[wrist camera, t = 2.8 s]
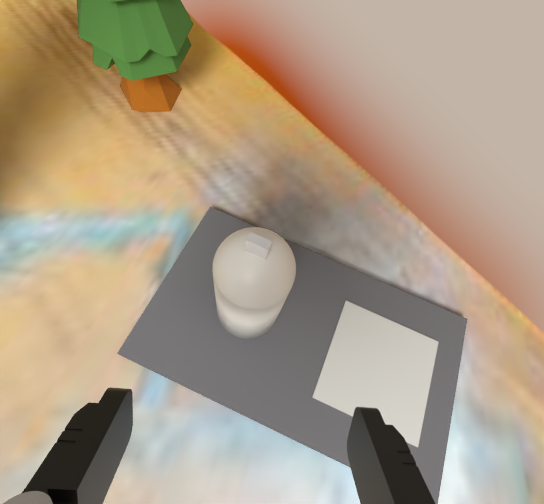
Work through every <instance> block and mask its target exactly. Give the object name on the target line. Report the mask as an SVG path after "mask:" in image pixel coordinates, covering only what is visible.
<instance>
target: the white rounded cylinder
mask: <svg viewBox="0 0 544 504" xmlns="http://www.w3.org/2000/svg"><path fill="white" fill-rule="evenodd" d="M212 272H213V281H214V289H215V298H216V306H217V314H218V318H219V321H220V323H221V325H222V326H223V327H224V329H225V330H226V331H227V332H229V333H230V334H232V335H234V336H236V337H238V338H243V339H252V338H257V337H259V336H262V335H263V334H265V333H266V332H268V331H269V330H270V329H271V328H272V326H273V325H274V323H275V321H276V319H277V317H278V315H279V313H280V311H281V309H282V307H283V305H284V302H285V300H286V298H287V296H288V294H289V292H290V290H291V288H292V286H293V283H294V280H295V276H296V262H295V257H294V255H293V252H292V250H291V248H290V246H289V245H288V244H287V242H286V241H285V240H284V239H283V238H282V237H281V236H279V235H278V234H276V233H275V232H273V231H271V230H268V229H265V228H259V227H249V228H244V229H241V230H238V231H236V232H234V233H232V234H231V235H229V236H228V237H227V238H226V239H225V240H224V241H223V242H222V243H221V244H220V246H219V247H218V249H217V251H216V253H215V256H214V259H213V268H212Z"/></svg>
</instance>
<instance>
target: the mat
mask: <svg viewBox="0 0 544 504" xmlns="http://www.w3.org/2000/svg"><path fill="white" fill-rule="evenodd" d="M249 227H255V226H253V225H251V224H248V223H246V222H244V221H242V220H239V219H237V218H235V217H232V216H230V215H228V214H226V213H223V212H221V211H219V210H216V209H214V208H212V207H210V208H209V210H208V211H207V213H206V215H205V216H204V218H203V219H202V221H201V222H200V224H199V226H198V227H197V229H196V230H195V232H194V233H193V235H192V237H191V238H190V240H189V241H188V243H187V244H186V246H185V248H184V249H183V251H182V252H181V254H180V255H179V257H178V259H177V260H176V262H175V263H174V265H173V267H172V268H171V270H170V271H169V273H168V274H167V276H166V278H165V279H164V281H163V282H162V284H161V285H160V287H159V289H158V290H157V292H156V293H155V295H154V296H153V298H152V300H151V301H150V303H149V304H148V306H147V307H146V309H145V311H144V312H143V314H142V315H141V317H140V318H139V320H138V322H137V323H136V325H135V326H134V328H133V330H132V331H131V333H130V334H129V336H128V337H127V339H126V341H125V342H124V344H123V345H122V347H121V348H120V350H119V352H118V353H117V354H119V355H121V356H123V357H125V358H127V359H129V360H131V361H134V362H136V363H138V364H140V365H142V366H144V367H146V368H148V369H150V370H152V371H154V372H156V373H158V374H160V375H162V376H164V377H166V378H168V379H170V380H172V381H174V382H177V383H179V384H181V385H183V386H185V387H187V388H189V389H191V390H193V391H195V392H197V393H199V394H201V395H203V396H205V397H207V398H209V399H211V400H213V401H215V402H218V403H220V404H222V405H224V406H226V407H228V408H230V409H232V410H234V411H236V412H238V413H240V414H242V415H244V416H246V417H248V418H250V419H252V420H254V421H256V422H258V423H261V424H263V425H265V426H267V427H269V428H271V429H273V430H275V431H277V432H279V433H281V434H283V435H285V436H287V437H289V438H291V439H293V440H295V441H297V442H299V443H302V444H304V445H306V446H308V447H310V448H312V449H314V450H316V451H318V452H320V453H322V454H324V455H326V456H328V457H330V458H332V459H334V460H336V461H338V462H340V463H342V464H345V465H347V466H349V467H350V463H349V459H348V454H347V438H348V434H349V430H350V426H351V422H352V418H353V414H354V410H355V408H356V407H368V408H377V409H378V410H379V411H380V413H381V416H382V418H383V420H384V422H385V424H386V425H393V426H394V427H395V428H396V429H397V430H398V431H399V433H400V434H401V435H402V436H403V437H404V439H405V441H406V443H407V445H408V447H409V449H410V451H411V454H412V455H413V458H414V460H415V462H416V466H418V468H419V470H420V472H421V474H422V477H423V479H424V481H425V483H426V485H427V487H428V489H429V491H430V493H431V495H432V498H433V500H434V502H435V504H438V497H439V491H440V485H441V479H442V472H443V466H444V460H445V454H446V448H447V441H448V435H449V429H450V423H451V416H452V410H453V404H454V398H455V391H456V385H457V379H458V373H459V367H460V360H461V354H462V348H463V342H464V335H465V329H466V323H467V319H466V318H464V317H461V316H459V315H457V314H454V313H452V312H450V311H448V310H445V309H443V308H441V307H438V306H436V305H434V304H432V303H429V302H427V301H425V300H422V299H420V298H418V297H415V296H413V295H411V294H409V293H406V292H404V291H402V290H399V289H397V288H395V287H393V286H390V285H388V284H386V283H383V282H381V281H379V280H377V279H374V278H372V277H370V276H367V275H365V274H363V273H361V272H358V271H356V270H354V269H351V268H349V267H347V266H345V265H342V264H340V263H338V262H335V261H333V260H331V259H329V258H326V257H324V256H322V255H319V254H317V253H315V252H313V251H310V250H308V249H306V248H303V247H301V246H299V245H297V244H294V243H292V242H290V241H287V240H285V239H284V240H285V241H286V242H287V244H288V245H289V246H290V248H291V250H292V252H293V255H294V257H295V262H296V276H295V280H294V283H293V286H292V288H291V290H290V292H289V294H288V296H287V298H286V300H285V302H284V305H283V307H282V309H281V311H280V313H279V315H278V317H277V319H276V321H275V323H274V325H273V326H272V328H271V329H270V330H269V331H268V332H266V333H265V334H263V335H262V336H259V337H257V338H252V339H243V338H238V337H236V336H234V335H232V334H230V333H229V332H227V331H226V330H225V329H224V327H223V326H222V325H221V323H220V321H219V318H218V314H217V306H216V298H215V289H214V281H213V272H212V268H213V259H214V256H215V253H216V251H217V249H218V247H219V246H220V244H221V243H222V242H223V241H224V240H225V239H226V238H227V237H228V236H229V235H231V234H232V233H234V232H236V231H238V230H241V229H244V228H249Z"/></svg>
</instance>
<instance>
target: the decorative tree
mask: <svg viewBox="0 0 544 504" xmlns="http://www.w3.org/2000/svg"><path fill="white" fill-rule="evenodd" d="M77 9H78V29H79V38H81V39H83V40H85V41H87V42H89V43H90V44H92V45H93V64H95V65H97V66H100V67H102V68H104V69H106V70H107V69H109V68H110V67H111V66H112V65H113V64H116V66H117V68H118V71H119V73H120V75H121V76H122V80H121V84H120V87H121V89H122V91H123V92H124V94H125V96H126V98H127V100H128V102H129V104H130V106H131V108H132V109H133V110H137V111H142V112H159V111H171V109H172V107H173V105H174V103H175V101H176V99H177V97H178V95H179V93H180V91H181V88H180V87H179V86H178V85H176V84H175V83H174V82H173V81H172V80H171V79H170V78H169V77H168V76H167V75H165V74H168V73H172V72H177V70H178V69H179V67H180V65H181V63H182V61H183V59H184V57H185V56H186V54H187V52H188V50H189V48H190V46H191V44H190V42H189V39H188V37H187V35H188V33H189V31H190V29H191V27H192V25H193V22H192V21H191V19H190V17H189V15H188V13H187V11H186V10H185V8H184V6H183V4H182V2H181V0H77Z"/></svg>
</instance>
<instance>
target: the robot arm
mask: <svg viewBox="0 0 544 504" xmlns="http://www.w3.org/2000/svg"><path fill="white" fill-rule="evenodd" d="M132 425H133V409H132V390H131V389H121V388H108V389H107V390H106V392H105V393H104V395H103V397H102V398H101V400H100V402H99V403H88V404H86V405H85V406H84V407H83V408H81V409H80V410H79V411H78V412H77V413H75V414H74V416H73V417H72V419H71V420H70V422H69V423H68V425H67V426H66V428H65V431H63V432H62V434H61V435H60V437H59V438H58V440H57V443H55V444H54V446H53V447H52V449H51V450H50V452H49V453H48V455H47V456H46V458H45V459H44V461H43V462H42V464H41V465H40V467H39V469H38V470H37V472H36V473H35V475H34V476H33V478H32V479H31V481H30V482H29V484H28V485H27V487H26V488H25V489H24V491H23V492H22V493H21V494H19V495H17V496H15V497H13V498H11V499H9V500H8V501H6V502H5V503H4V504H103V501H104V499H105V496H106V494H107V492H108V489H109V487H110V485H111V482H112V480H113V478H114V475H115V473H116V471H117V468H118V466H119V464H120V461H121V459H122V457H123V454H124V452H125V449H126V447H127V445H128V442H129V439H130V436H131V432H132ZM347 454H348V459H349V463H350V467H351V470H352V474H353V478H354V481H355V485H356V488H357V492H358V496H359V499H360V503H361V504H435V502H434V500H433V498H432V495H431V493H430V491H429V489H428V487H427V485H426V483H425V481H424V479H423V477H422V474H421V472H420V470H419V468H418V466H416V462H415V460H414V458H413V455H412V454H411V451H410V449H409V447H408V445H407V443H406V441H405V439H404V437H403V436H402V435H401V434H400V433H399V431H398V430H397V429H396V428H395V427H394V426H393V425H386V424H385V422H384V420H383V418H382V416H381V413H380V411H379V410H378V409H377V408H368V407H356V408H355V410H354V414H353V418H352V422H351V426H350V430H349V434H348V438H347Z"/></svg>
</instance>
